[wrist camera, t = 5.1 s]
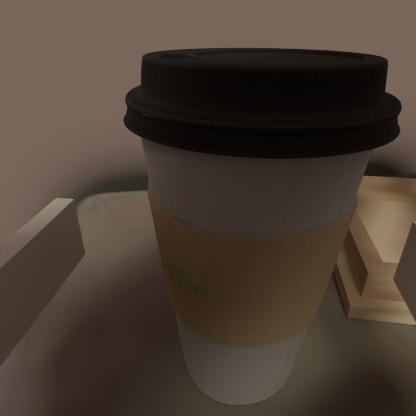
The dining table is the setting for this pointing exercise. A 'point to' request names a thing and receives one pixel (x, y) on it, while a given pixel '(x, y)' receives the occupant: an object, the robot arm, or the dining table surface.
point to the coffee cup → (254, 195)
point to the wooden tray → (376, 250)
